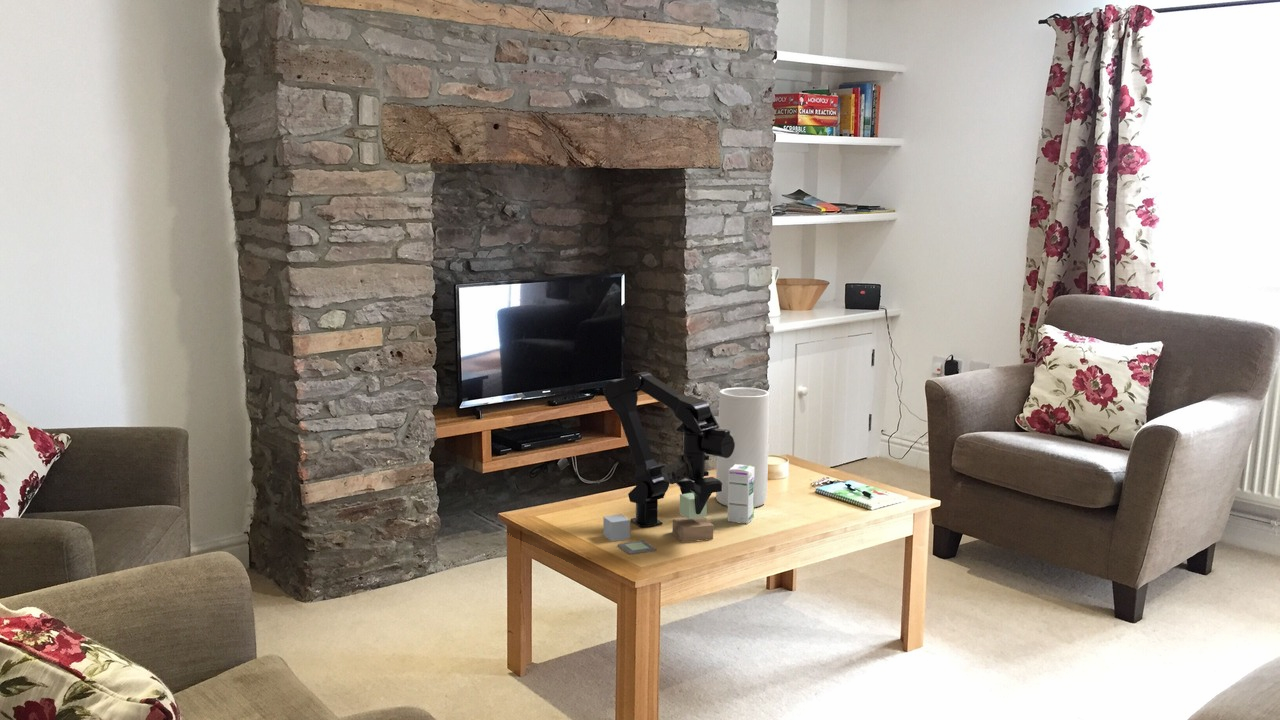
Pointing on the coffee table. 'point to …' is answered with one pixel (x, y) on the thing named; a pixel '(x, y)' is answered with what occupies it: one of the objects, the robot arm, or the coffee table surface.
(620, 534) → the slate cube
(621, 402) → the robot arm
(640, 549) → the card
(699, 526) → the walnut block
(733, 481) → the syrup box
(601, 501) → the coffee table surface
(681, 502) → the green cube
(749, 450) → the vase
